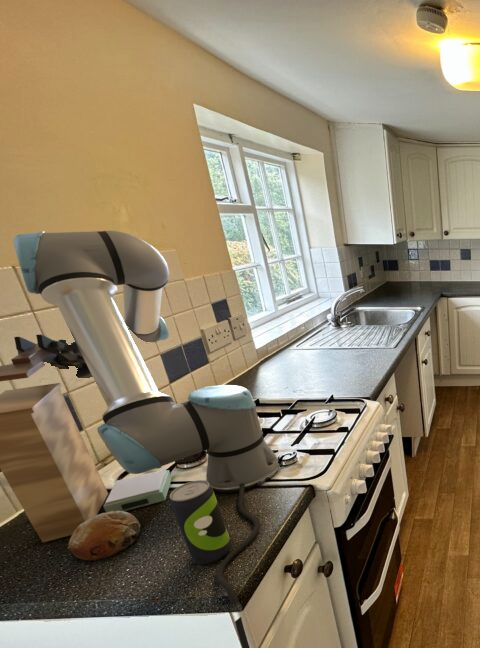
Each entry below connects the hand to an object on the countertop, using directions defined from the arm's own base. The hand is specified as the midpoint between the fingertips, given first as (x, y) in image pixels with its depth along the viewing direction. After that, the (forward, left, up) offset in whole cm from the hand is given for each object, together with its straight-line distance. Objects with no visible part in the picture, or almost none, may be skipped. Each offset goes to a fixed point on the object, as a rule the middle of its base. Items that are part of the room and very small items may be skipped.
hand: (29, 341), depth 85 cm
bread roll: (-28, +1, -36) cm, 46 cm away
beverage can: (-47, -11, -36) cm, 60 cm away
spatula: (-3, +1, -4) cm, 5 cm away
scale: (-14, -6, -36) cm, 39 cm away
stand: (-12, +4, -36) cm, 38 cm away
